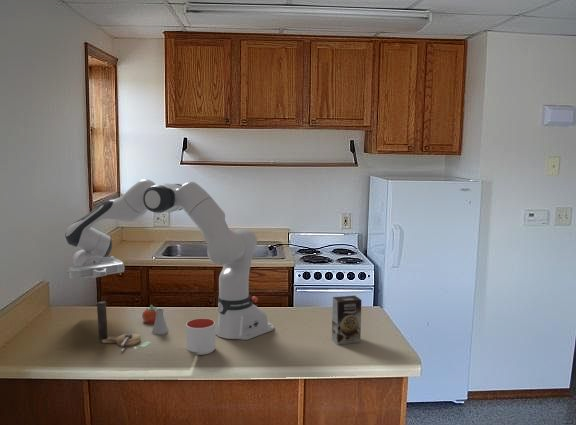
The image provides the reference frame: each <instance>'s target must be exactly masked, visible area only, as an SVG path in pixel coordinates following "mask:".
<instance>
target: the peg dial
mask: <svg viewBox="0 0 576 425" xmlns="http://www.w3.org/2000/svg"><path fill="white" fill-rule="evenodd" d="M96 313H97V328H98V329H97V330H98V331H97V332H98V340H101V343H103V344H105V343H108V344H109V343H110V344H112V343H113V344H114V343H115V344H117V346H120V347H131V346H134V345H137V344H139V343H141V335H140V334H138V333H135V332H134V333H133V332H131V333H130V332H129V333H123V334H120V335H119V336H108V320H107V319H108V318H107V302H106V301H98V302H96Z"/></svg>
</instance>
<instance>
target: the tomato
mask: <svg viewBox="0 0 576 425" xmlns="http://www.w3.org/2000/svg"><path fill="white" fill-rule="evenodd" d="M155 309H158V308H157V307H156V306H153V304H150V305H149V307H146V309H144V310H143V312H142V315H141V316H142V320H143V322H144V323H147V324H154V323H155V319H156V312H155Z"/></svg>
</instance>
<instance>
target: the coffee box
mask: <svg viewBox="0 0 576 425" xmlns="http://www.w3.org/2000/svg"><path fill="white" fill-rule="evenodd" d="M331 312H332V318H331V320H332V321H331V340H333V342H334V343H335V344H336V345H339V346H340V345H349V344H355V343H356V344H357V343H361V331H362V330H361V327H362V299H361V298H360V297H358V296H357V295H356V294H355V295H342V296H341V295H340V296H333V297H332V311H331Z"/></svg>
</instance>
